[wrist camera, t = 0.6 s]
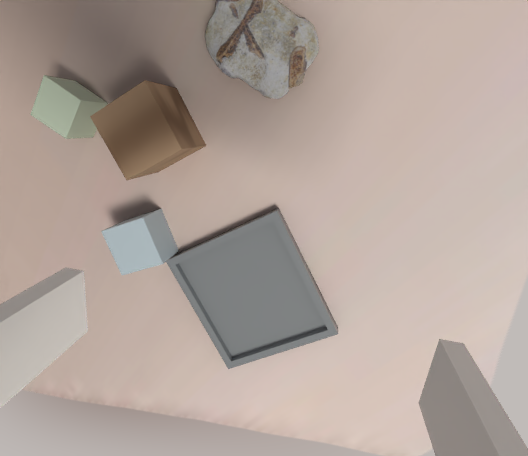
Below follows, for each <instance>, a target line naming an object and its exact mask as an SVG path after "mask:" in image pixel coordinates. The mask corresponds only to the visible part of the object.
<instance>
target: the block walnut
mask: <svg viewBox="0 0 528 456" xmlns="http://www.w3.org/2000/svg"><path fill="white" fill-rule="evenodd" d="M90 117H91V119H92V121H93V123H94V124H95V126H96V128H97V130H98V131H99V133H100V135H101V137H102V138H103V140H104V142H105V143H106V145H107V147H108V149H109V150H110V152H111V154H112V156H113V157H114V159H115V161H116V163H117V164H118V166H119V168H120V170H121V171H122V173H123V175H124V177H125V178H126V180H130V179H134V178H137V177H141V176H145V175H149V174H152V173H156V172H159V171H161V170H163V169H165V168H167V167H168V166H170V165H172V164H174V163H176V162H177V161H179V160H181V159H183V158H185V157H186V156H188V155H190V154H192V153H194V152H195V151H197V150H199V149H201V148H203V147H205V146H206V144H205V142H204V140H203V138H202V136H201V134H200V133H199V131H198V129H197V127H196V125H195V123H194V121H193V119H192V117H191V115H190V113H189V111H188V109H187V107H186V106H185V104H184V102H183V100H182V98H181V96H180V94H179V92H178V90H177V88H174V87H170V86H166V85H162V84H158V83H154V82H150V81H146V80H145V81H143V82H141V83H140V84H138V85H137V86H135V87H134V88H132V89H131V90H129V91H128V92H126V93H125V94H123V95H122V96H120V97H119V98H117V99H116V100H114V101H113V102H111V103H110V104H108V105H107V106H105V107H104V108H102V109H101V110H99V111H98V112H96V113H94V114H93V115H91V116H90Z"/></svg>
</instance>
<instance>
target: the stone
mask: <svg viewBox="0 0 528 456" xmlns="http://www.w3.org/2000/svg"><path fill="white" fill-rule="evenodd" d="M215 5H216V10H215V12H214V14H213V16H212V17H211V19H210V20H209V22H208V26H207V29H206V32H205V39H206V45H207V48H208V51H209V53H210V55H211V57H212V58H213V60H214V61H215V63H216V65H217V66H218V67H219V68H220V69H221V71H222V72H223V73H225V74H226V75H228V76H229V77H231V78H239V79H241V80H243V81H245V82H246V83H247V84H249V85H250V86H251V87H252V88H254V89H256V90H257V91H259V92H260V93H261V94H262V95H263V96H265V97H267V98H274V99H280V98H281V97H283V96H284V95H286V94H287V93H288V91H289V89H290V88H292V87H294V86H298V85H300V84H301V83H302V82H303V78H304V75H305V71H306V70H307V68H308V67H309V66H310V64H311V63H312V62H313V60H314V59H315V57H316V56H317V54H318V50H319V47H318V38H317V34H316V31H315V28H314V26H313V25H312V24H311V23H310V22H309V21H307V20H306V19H305V18H300V17H298V16H296V15H295V14H293V13H292V12H291V11H290V10H289V9H288V8H286V7H285V6H283V5H282V4H281V3H280V2H278V1H277V0H217V2H216V4H215Z"/></svg>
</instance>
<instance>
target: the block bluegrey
mask: <svg viewBox="0 0 528 456" xmlns="http://www.w3.org/2000/svg"><path fill="white" fill-rule="evenodd" d="M101 232H102V234H103V236H104V238H105V240H106V242H107V245H108V247H109V249H110V251H111V253H112V255H113V257H114V259H115V262H116V264H117V266H118V268H119V270H120V272H121V274H122V275H125V274H129V273H132V272H136V271H140V270H143V269H147V268H150V267H154V266H157V265H161V264H163V263H165V262H166V261H167V260H168V259H169V258H171V257H172V256H173V255H174V254H175V253H177V252H178V251H179V250H178V247H177V245H176V242H175V240H174V238H173V235H172V233H171V231H170V228H169V226H168V223H167V221H166V219H165V216H164V214H163V211H162V209H158V210H155V211H152V212H149V213H146V214H143V215H140V216H137V217H134V218H131V219H128V220H125V221H122V222H120V223H118V224H116V225H114V226H112V227H110V228H107V229H105V230H103V231H101Z"/></svg>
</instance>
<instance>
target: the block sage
mask: <svg viewBox="0 0 528 456" xmlns="http://www.w3.org/2000/svg"><path fill="white" fill-rule="evenodd" d="M107 104H108V103H107V102H105V101H104V100H102V99H101V98H99V97H98V96H96V95H95V94H94V93H92V92H91V91H89V90H88V89H86V88H85V87H83V86H82V85H80V84H79V83H78V82H76V81H74V80H68V79H63V78H57V77H51V76H46V75H44V77H43V80H42V82H41V85H40V88H39V91H38V94H37V97H36V100H35V103H34V106H33V109H32V112H31V115H32V116H33V117H35V118H36V119H38V120H39V121H41V122H42V123H44V124H45V125H46V126H48V127H49V128H51V129H52V130H54V131H55V132H57V133H58V134H60V135H61V136H63V137H64V138H66V139H71V138H92V137H94V134H95V132H96V130H97V128H96V126H95V124H94V123H93V121H92V119H91V117H90V116H91V115H93V114H94V113H96V112H98V111H99V110H101V109H102V108H104V107H105V106H107Z"/></svg>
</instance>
